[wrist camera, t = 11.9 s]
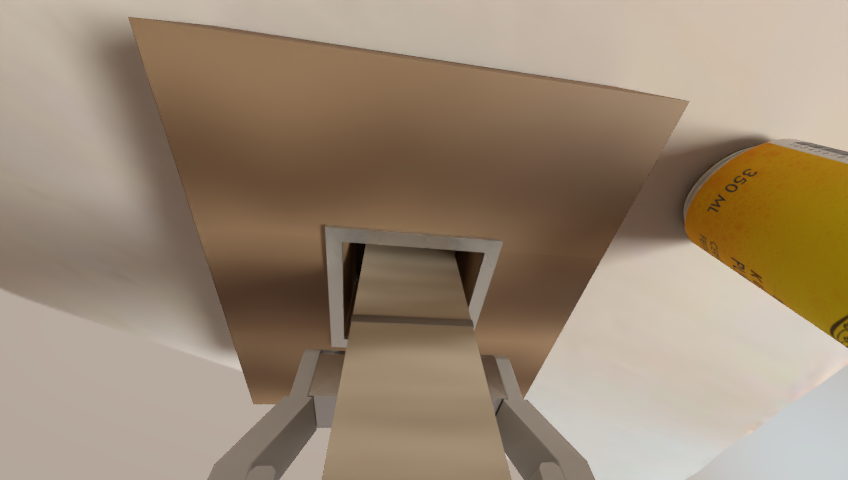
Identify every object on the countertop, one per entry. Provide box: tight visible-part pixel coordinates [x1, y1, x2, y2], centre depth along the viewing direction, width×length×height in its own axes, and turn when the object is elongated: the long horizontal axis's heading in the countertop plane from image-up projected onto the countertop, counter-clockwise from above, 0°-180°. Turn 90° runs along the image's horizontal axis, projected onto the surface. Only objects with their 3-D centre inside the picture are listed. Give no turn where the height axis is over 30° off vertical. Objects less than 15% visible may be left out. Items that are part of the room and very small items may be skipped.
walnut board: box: [128, 17, 690, 404], centre depth 15 cm, size 18×16×4 cm
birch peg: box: [322, 244, 512, 480], centre depth 10 cm, size 4×4×11 cm
